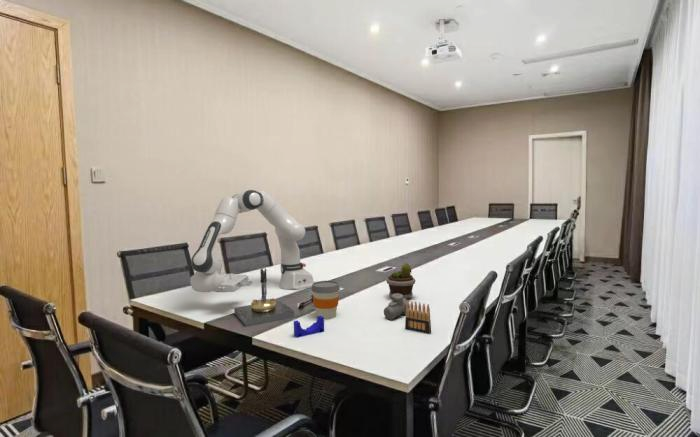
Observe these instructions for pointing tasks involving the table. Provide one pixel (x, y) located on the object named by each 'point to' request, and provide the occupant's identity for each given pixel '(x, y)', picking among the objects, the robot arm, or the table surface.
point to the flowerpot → (401, 282)
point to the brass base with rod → (263, 297)
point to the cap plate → (263, 314)
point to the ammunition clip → (418, 318)
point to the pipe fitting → (396, 307)
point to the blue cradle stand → (309, 328)
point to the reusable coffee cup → (325, 298)
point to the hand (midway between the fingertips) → (251, 283)
